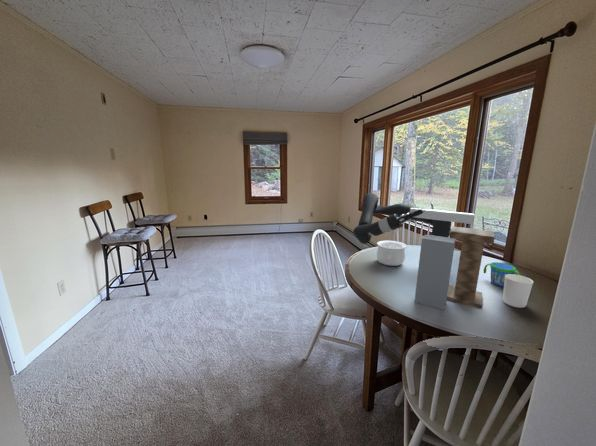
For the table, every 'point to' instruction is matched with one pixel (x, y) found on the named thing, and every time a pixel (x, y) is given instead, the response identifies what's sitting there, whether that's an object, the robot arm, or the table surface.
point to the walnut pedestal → (469, 265)
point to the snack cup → (500, 272)
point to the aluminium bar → (445, 215)
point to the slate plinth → (434, 270)
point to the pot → (391, 252)
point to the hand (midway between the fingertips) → (422, 210)
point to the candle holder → (516, 290)
